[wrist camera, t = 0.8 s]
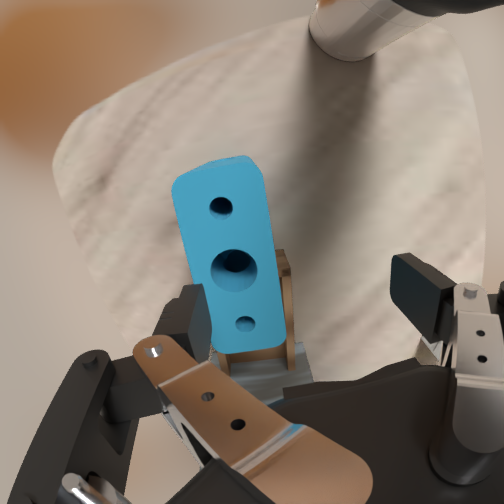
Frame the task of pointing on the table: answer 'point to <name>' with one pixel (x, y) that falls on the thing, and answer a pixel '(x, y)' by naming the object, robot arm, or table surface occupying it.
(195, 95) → the table surface
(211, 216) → the block
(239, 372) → the wooden stand
